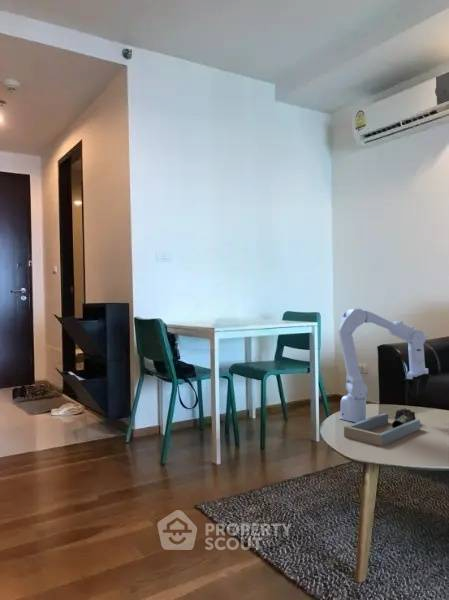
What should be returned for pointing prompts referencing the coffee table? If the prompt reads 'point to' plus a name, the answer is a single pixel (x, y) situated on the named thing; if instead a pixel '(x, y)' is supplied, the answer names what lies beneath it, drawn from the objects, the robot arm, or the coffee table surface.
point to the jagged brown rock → (403, 417)
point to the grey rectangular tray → (361, 433)
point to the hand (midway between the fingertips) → (419, 394)
